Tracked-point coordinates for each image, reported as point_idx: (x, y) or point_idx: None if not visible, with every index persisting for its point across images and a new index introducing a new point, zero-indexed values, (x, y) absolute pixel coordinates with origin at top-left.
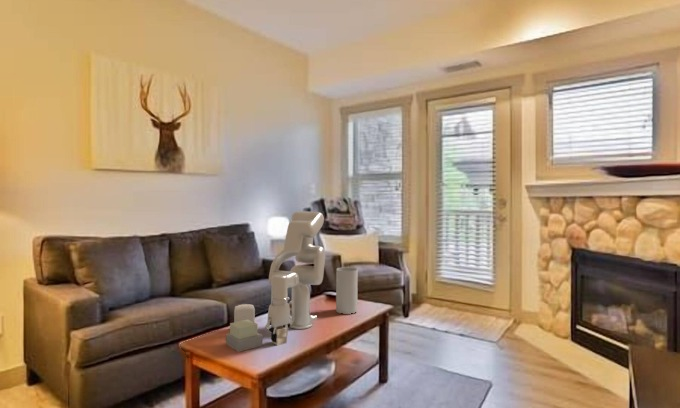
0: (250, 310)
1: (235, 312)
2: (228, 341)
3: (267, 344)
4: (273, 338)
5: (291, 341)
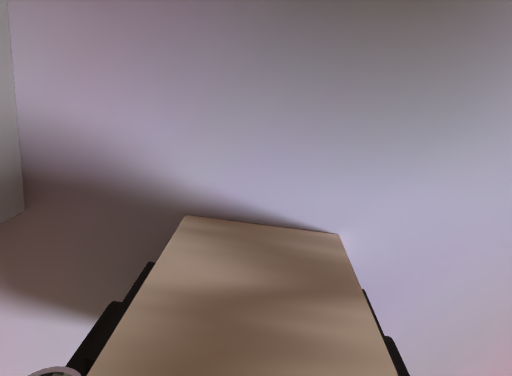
0: None
1: None
2: None
3: (97, 232)
4: None
5: None
